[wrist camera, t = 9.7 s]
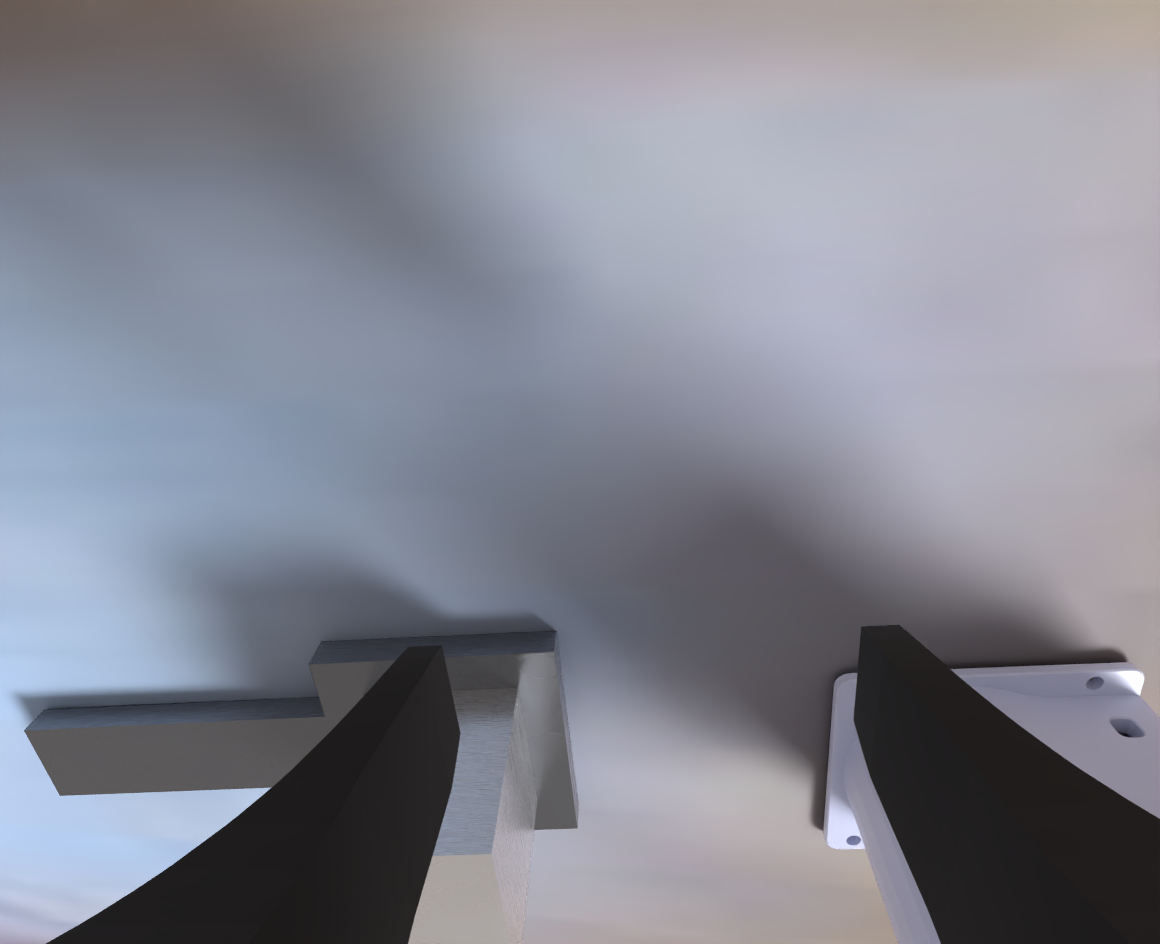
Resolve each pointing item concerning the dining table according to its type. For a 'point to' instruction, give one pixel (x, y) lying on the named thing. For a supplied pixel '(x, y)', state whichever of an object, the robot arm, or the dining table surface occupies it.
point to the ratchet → (304, 724)
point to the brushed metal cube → (483, 829)
